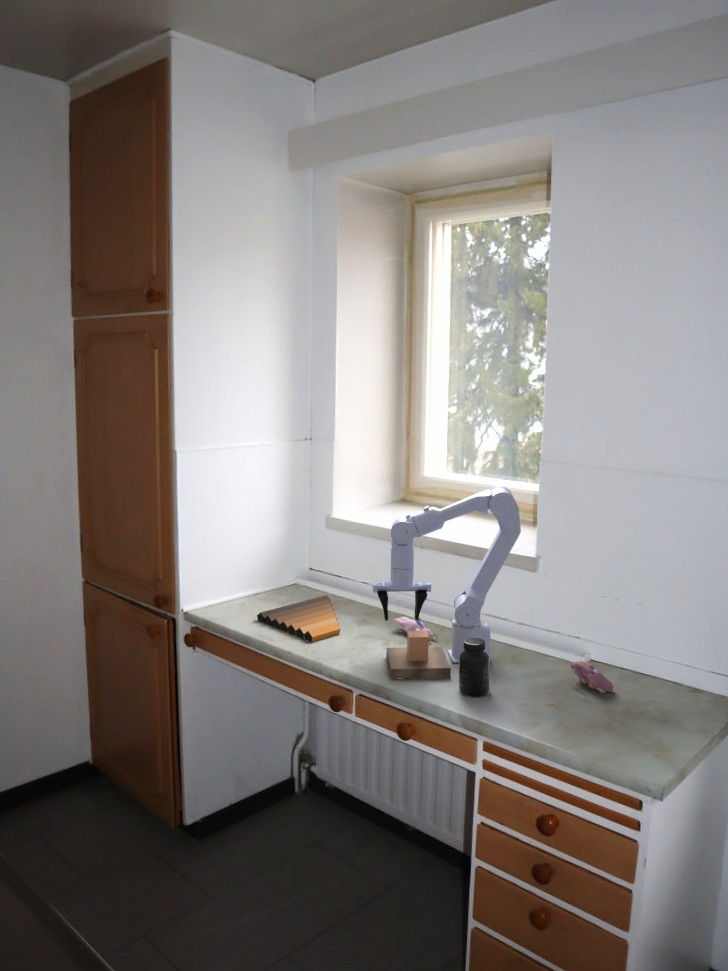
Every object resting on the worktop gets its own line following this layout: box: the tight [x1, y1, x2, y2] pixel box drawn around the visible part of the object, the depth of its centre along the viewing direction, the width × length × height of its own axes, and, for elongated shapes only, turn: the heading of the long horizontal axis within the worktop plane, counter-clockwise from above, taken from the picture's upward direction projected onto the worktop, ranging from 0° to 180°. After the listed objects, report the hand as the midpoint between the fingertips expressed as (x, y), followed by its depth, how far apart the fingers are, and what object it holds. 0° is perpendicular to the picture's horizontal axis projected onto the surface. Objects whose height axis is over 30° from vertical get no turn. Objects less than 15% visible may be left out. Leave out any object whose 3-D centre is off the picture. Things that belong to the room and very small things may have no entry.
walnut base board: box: [386, 646, 452, 680], centre depth 198 cm, size 14×14×2 cm
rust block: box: [406, 631, 430, 661], centre depth 197 cm, size 5×5×6 cm
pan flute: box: [256, 594, 341, 643], centre depth 232 cm, size 25×3×25 cm
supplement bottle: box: [458, 638, 491, 698], centre depth 183 cm, size 7×7×12 cm
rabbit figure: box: [393, 616, 439, 644], centre depth 220 cm, size 6×6×15 cm
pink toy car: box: [570, 659, 614, 693], centre depth 186 cm, size 10×5×7 cm, turn 21°
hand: (401, 619), depth 204 cm, fingers open, 7 cm apart
